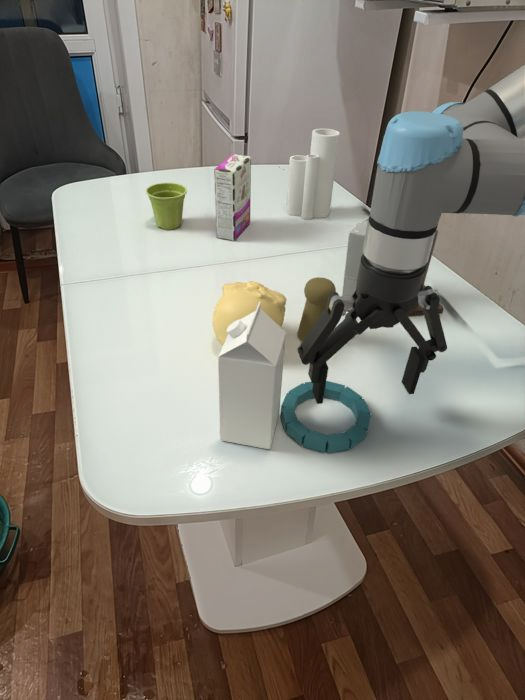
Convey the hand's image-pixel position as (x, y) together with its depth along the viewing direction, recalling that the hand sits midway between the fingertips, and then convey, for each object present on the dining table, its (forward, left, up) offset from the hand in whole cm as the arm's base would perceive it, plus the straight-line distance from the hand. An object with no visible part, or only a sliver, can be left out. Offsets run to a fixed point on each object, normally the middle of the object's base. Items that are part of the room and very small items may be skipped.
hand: (363, 392), depth 73 cm
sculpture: (+13, -20, -5) cm, 24 cm away
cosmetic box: (-11, -29, -5) cm, 31 cm away
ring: (+5, 0, -4) cm, 7 cm away
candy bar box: (+9, -64, -5) cm, 65 cm away
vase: (-12, -72, -5) cm, 73 cm away
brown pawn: (+1, -20, -5) cm, 21 cm away
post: (-21, -28, -4) cm, 35 cm away
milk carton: (+16, 0, -5) cm, 17 cm away
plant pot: (+24, -69, -5) cm, 73 cm away
